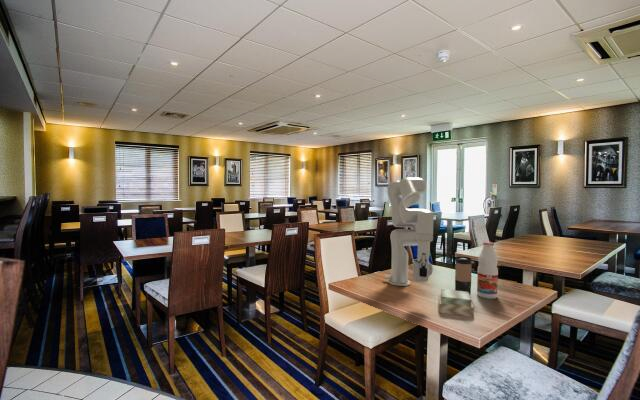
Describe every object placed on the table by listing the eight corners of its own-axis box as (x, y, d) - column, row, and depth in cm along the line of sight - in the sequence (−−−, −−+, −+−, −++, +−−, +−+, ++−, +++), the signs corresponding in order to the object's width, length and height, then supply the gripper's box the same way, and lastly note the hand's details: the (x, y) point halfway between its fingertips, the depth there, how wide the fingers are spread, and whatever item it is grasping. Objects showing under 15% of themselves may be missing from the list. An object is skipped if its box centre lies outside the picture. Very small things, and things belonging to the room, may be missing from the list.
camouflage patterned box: (439, 312, 146) (439, 297, 146) (438, 302, 159) (438, 288, 159) (473, 316, 141) (474, 300, 141) (470, 305, 155) (470, 291, 154)
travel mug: (470, 295, 171) (470, 257, 170) (471, 299, 164) (472, 260, 163) (454, 293, 173) (455, 255, 173) (455, 297, 166) (456, 258, 165)
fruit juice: (496, 294, 172) (497, 241, 171) (498, 300, 163) (499, 244, 162) (476, 292, 176) (477, 240, 175) (477, 297, 167) (478, 243, 166)
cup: (409, 277, 157) (410, 259, 156) (427, 276, 160) (428, 258, 159) (418, 282, 150) (418, 263, 149) (436, 280, 153) (437, 262, 152)
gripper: (416, 233, 162) (415, 268, 163) (415, 239, 146) (414, 278, 147) (432, 234, 160) (431, 270, 161) (433, 240, 143) (431, 280, 145)
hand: (423, 273), depth 154 cm, fingers closed on cup, 7 cm apart
